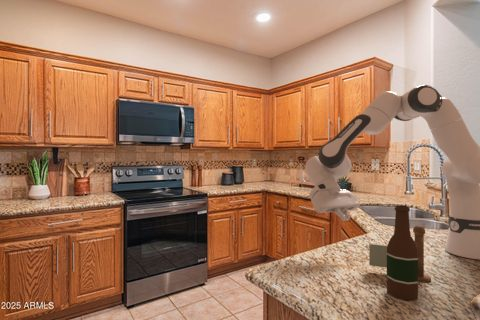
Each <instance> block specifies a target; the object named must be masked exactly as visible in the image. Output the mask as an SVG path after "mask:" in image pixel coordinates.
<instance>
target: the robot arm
mask: <svg viewBox="0 0 480 320" xmlns="http://www.w3.org/2000/svg"><path fill="white" fill-rule="evenodd" d="M419 117H421V118H423V119H424V120H425V121H426V123H427V125H428V129H429V130H430V133H431V134H432V137H433V138H434V141H435V143H436V145H437V147H438V148H439V149H440V150H441V151H442V152H443V153H444V155H445V156H446V158H448V159H446V160H445V161H444V162H443V163H442V165H441V170H442V173H443V174H444V177H445V180H446V181H445V183H446V185H447V190H448V196H449V216H448V219H447V221H448V222H447V223H448V229H447V231H448V232H447V235H446V236H447V237H446V243H445V245H444V251H446V252H447V253H449V254H452V255H455V256H458V257H463V258H467V259H473V260H480V146H479V143H477V142H476V140H475V139H474V138H473V136H472V135H471V133H470V131H469V129H468V127H467V125H466V123H465V121H464V118H463V116H462V115H461V113H460V112H459V109H457V107H456V105H455V104H454V103H453V102H452V101H451V99H449V98H448V97H443V96H442V95H441V94H440V93H439V91H438V90H437V89H436V88H435V87H433V86H431V85H428V84H423V85H418V86H415V87H413V88H412V89H410V90H408V91H406V92H405V93H403V95H398V94H397V93H396V92H393V91H384V92H381V93H380V94H378V96H377V97H375V98H374V99H373V101H371V102H370V104H368V105H367V107H366V108H365V109H364V110H363V111H362V113H360V114H358V115H356V116H355V117H353V119H352V120H351V121H349V122H348V123H347V124H346V125H345V126H344V127H343V128H342V129H341V130H340V131H339V132H338V133H337V135H335V136H334V137H333V138H331V139H330V140H328V141H327V142H326V143H324V144H323V145H322V146H321V147H320V149H319V150H318V153H317V155H314V156H312V157H310V158H308V160H307V161H306V163H305V167H304V169H305V173H306V174H307V177H308V178H309V180H310V182H311V183H312V184H313V185H314V187H313V189H312V190H311V191H310V193H309V194H308V198H309V199H310V201H311V205H312V207H313V209H314V210H315V212H317V213H319V214H321V213H322V214H325V213H334V214H335V215H336V216H338V217H339V218H340V220H341V221H342V222H343V221H349V220H350V219H351V216H350V214H349V211H356V210H357V209H358V208H360V206H361V203H360V201H359V199H358V198H357V196H355V195H354V194H353V193H352V192H351V191H350V190H348V189H345V188H343V189H342V188H341V186H340V185H339V183H338V182H337V180H338V179H341V178H343V177H346V176H348V175H349V174H350V173H351V171H352V169H353V164H352V161H351V160H350V157H349V156H348V154H347V150H348V148H349V146H350V145H352V143H353V142H354V141H355V140H356V139H357V138H358V137H359V136H360V135H362V134H366V135H368V136H376V135H379V134H381V133H382V132H383V131H384V130H385V129H386V128H387V127H388V126H389V124H390V123H391V122H392V121H393V119H395V120H397V121H401V122H408V121H411V120H414V119H417V118H419Z"/></svg>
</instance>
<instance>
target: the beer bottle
mask: <svg viewBox="0 0 480 320" xmlns="http://www.w3.org/2000/svg"><path fill="white" fill-rule="evenodd" d="M394 211H395V219H394V232H393V235H392V236H391V237H390V238H389V241H388V243H387V245H388V246H387V268H386V292H387V294H389V296H392V297H393V298H395V299H398V300H402V301H406V302H411V301H417V300H418V297H419V296H418V295H419V281H418V248H417V246H416V243H415V239H413V236H412V233H411V229H410V228H411V227H410V211H411V209H410V207H409V206H407V205H401V204H400V205H395V206H394Z"/></svg>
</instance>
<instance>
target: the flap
mask: <svg viewBox="0 0 480 320" xmlns="http://www.w3.org/2000/svg"><path fill="white" fill-rule="evenodd" d="M368 246H369V247H368V248H369V249H368V250H369V253H368V255H369V256H368V262H369V264H368V265H369V266H372V267H378V268H386V269H387V246H388V244H381V243H371V242H370V243H369V245H368Z"/></svg>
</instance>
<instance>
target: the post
mask: <svg viewBox="0 0 480 320" xmlns="http://www.w3.org/2000/svg"><path fill="white" fill-rule="evenodd" d="M412 232H413V234H414V241H415V243H416V246H417V248H418V282H422V283H430V282H431V281H432V277H431V276H430V275H429V274H428V273H425V267H424V266H425V264H424V263H425V262H424V261H425V260H424V259H425V258H424V257H425V255H424V254H425V253H424V252H425V249H424V247H425V243H424V242H425V241H424V240H425V237H424V236H425V234H426V229H425V227H423V226H421V225H415V226H414V227H413V228H412Z"/></svg>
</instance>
